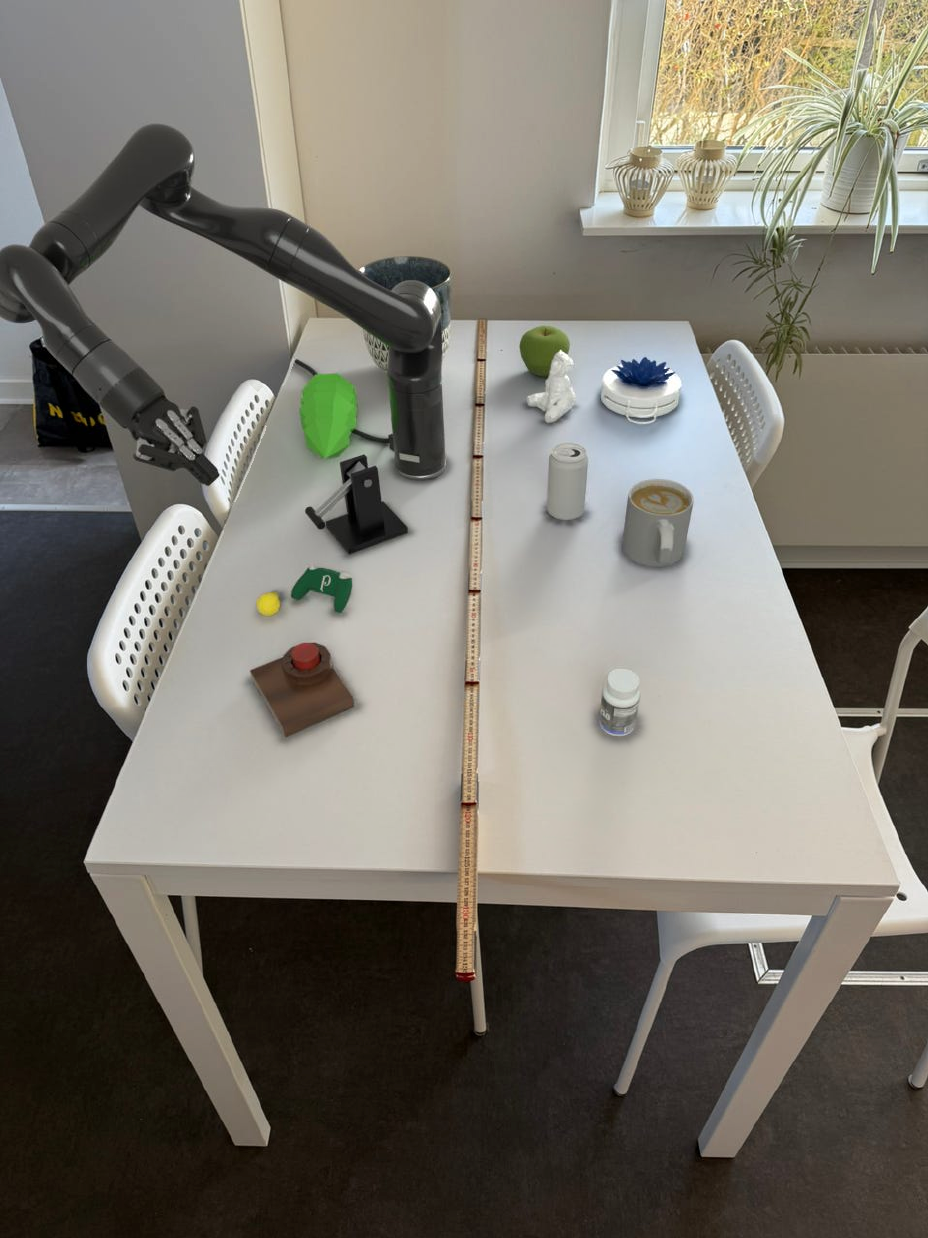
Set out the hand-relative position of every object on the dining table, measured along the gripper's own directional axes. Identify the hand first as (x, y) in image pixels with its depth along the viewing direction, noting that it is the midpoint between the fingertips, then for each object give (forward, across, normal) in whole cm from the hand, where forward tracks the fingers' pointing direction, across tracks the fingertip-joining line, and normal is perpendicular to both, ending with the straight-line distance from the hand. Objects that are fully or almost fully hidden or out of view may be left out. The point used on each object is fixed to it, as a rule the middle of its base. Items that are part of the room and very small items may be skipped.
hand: (214, 480), depth 120 cm
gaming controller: (+24, +4, +6) cm, 25 cm away
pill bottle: (+57, -5, -29) cm, 64 cm away
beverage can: (+43, +38, -16) cm, 59 cm away
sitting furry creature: (+34, +71, -7) cm, 79 cm away
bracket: (+22, +22, +6) cm, 32 cm away
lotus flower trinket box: (+44, +78, -19) cm, 92 cm away
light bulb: (+19, -1, +10) cm, 22 cm away
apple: (+29, +85, -3) cm, 90 cm away
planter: (+10, +76, +17) cm, 79 cm away
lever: (+15, +19, +3) cm, 24 cm away
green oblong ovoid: (+9, +44, +20) cm, 49 cm away
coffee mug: (+54, +31, -27) cm, 68 cm away
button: (+26, -12, -1) cm, 28 cm away
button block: (+29, -15, +1) cm, 32 cm away
